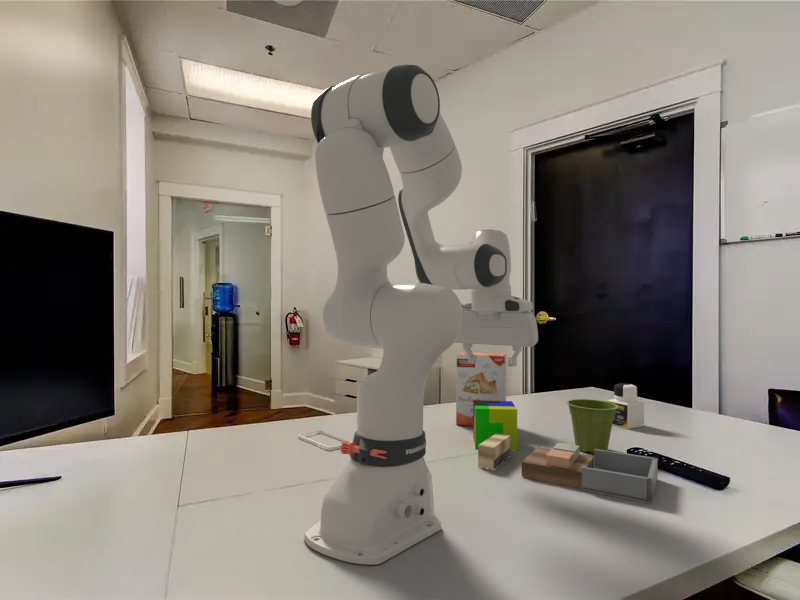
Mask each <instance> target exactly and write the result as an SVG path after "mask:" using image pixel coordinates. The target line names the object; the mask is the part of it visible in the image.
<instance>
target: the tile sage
mask: <svg viewBox="0 0 800 600" xmlns="http://www.w3.org/2000/svg"><path fill="white" fill-rule="evenodd" d="M552 449H554V450H560V451H567V452H573V453H574V461H575V460H576V459H577V458H578V456H579V455H580V454H581V453H580V452H581V450H580V446H578V445H575V444H571V443H563V442H557V443H556V444H555V445H554V446H553V447H552Z"/></svg>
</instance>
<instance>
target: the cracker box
mask: <svg viewBox="0 0 800 600" xmlns="http://www.w3.org/2000/svg"><path fill="white" fill-rule="evenodd" d="M472 353H473V355H477V363H475V364H473V363H468V356H467V354H466V352H465V351H464V352H459V353H457V354H456V383H455V384H456V386H455V387H456V389H455V390H456V397H455V398H456V399H455V401H456V403H455V408H456V409H455V425H457V426H458V425H459V426H471V427H473V400H480V401H507V354H505V353H486V352H472Z"/></svg>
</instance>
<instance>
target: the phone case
mask: <svg viewBox="0 0 800 600" xmlns="http://www.w3.org/2000/svg"><path fill="white" fill-rule="evenodd" d="M313 433H316V435H324V436H327V437H329V438H333V439H334V440H337V441H340V442H341V443H342V442H343V441H348V442H350V443H351V442H353V440H349V439H347V438H344V437H341V436H339V435H335V434H334V433H330V432H327V431H325V430H315V431H310V432H305V433H300V434H298V436H297V437H298V439H299V440H301V441H304V442H306V443H309V444H310V445H313V446H317V445H318V446H320V447H323V448H324V450H326V451H330V452H331V451H334V450H335V451H336V450H338V449H339V450H340V448H341V447H340V445H342V444H341V443H340V444H337V445H331V446H329V445H325V444H323V443H320V442H317V441H315V440H314V439H311V438H308V437H305V435H309V434H313Z"/></svg>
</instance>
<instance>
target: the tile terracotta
mask: <svg viewBox="0 0 800 600" xmlns="http://www.w3.org/2000/svg"><path fill="white" fill-rule="evenodd" d="M550 449H551V450H550V451H549V452H548V453H547V454H546V465H550V466H556V467H562V468H567V469H569V468H570V467H571V466H572V464H573V463H574V453H573V452H567V451H560V450H554V449H553V448H550Z"/></svg>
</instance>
